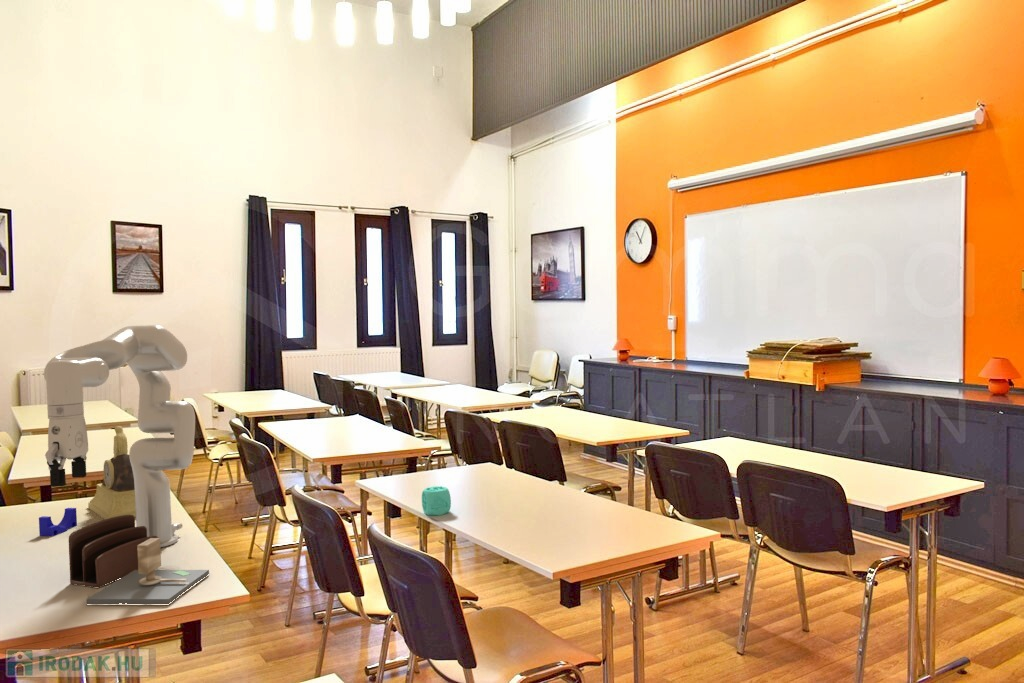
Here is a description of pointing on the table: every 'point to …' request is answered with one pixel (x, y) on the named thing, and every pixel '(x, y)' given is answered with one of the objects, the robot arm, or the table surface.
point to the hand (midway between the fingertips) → (69, 481)
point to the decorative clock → (116, 483)
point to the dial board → (147, 588)
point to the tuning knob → (151, 562)
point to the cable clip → (67, 522)
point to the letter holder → (105, 550)
